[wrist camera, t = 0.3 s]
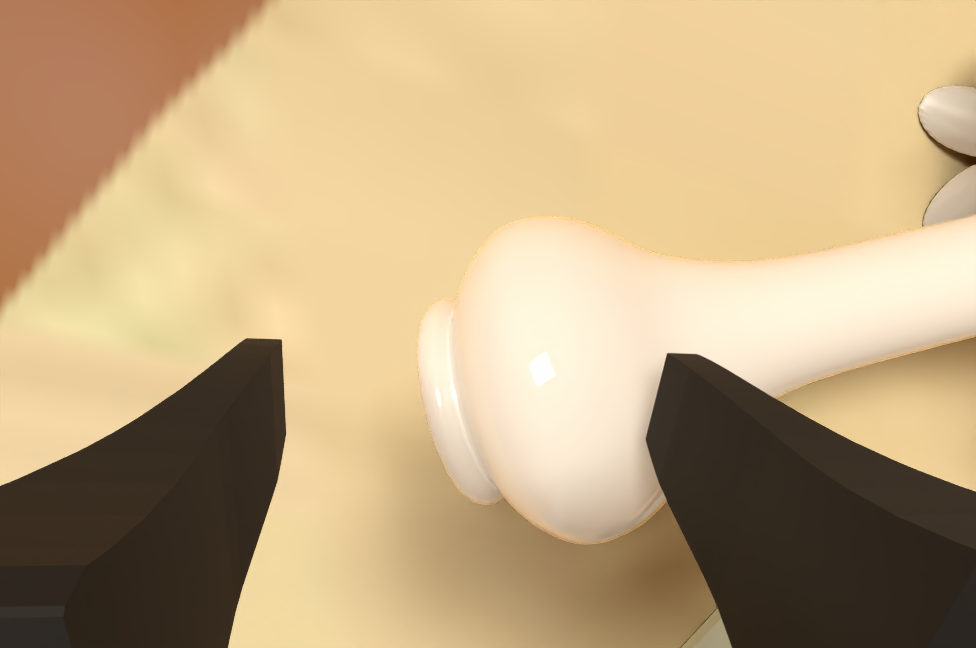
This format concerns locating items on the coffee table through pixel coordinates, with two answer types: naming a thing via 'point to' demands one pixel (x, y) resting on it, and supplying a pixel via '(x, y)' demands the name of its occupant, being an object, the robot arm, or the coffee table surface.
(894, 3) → the coffee table surface
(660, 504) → the flower vase
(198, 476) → the robot arm
